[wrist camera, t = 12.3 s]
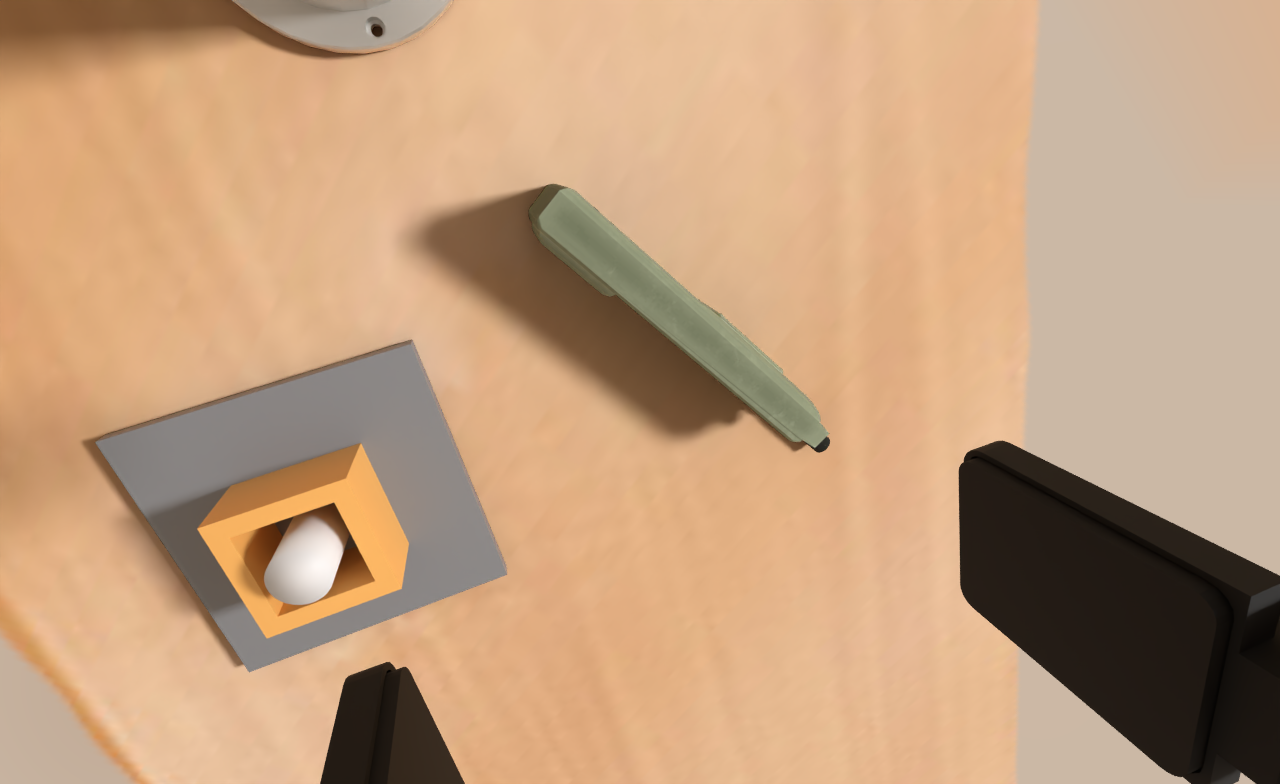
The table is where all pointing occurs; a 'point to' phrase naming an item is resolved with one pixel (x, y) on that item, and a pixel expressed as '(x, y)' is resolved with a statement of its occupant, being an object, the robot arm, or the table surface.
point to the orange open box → (253, 506)
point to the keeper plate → (297, 435)
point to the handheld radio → (672, 311)
